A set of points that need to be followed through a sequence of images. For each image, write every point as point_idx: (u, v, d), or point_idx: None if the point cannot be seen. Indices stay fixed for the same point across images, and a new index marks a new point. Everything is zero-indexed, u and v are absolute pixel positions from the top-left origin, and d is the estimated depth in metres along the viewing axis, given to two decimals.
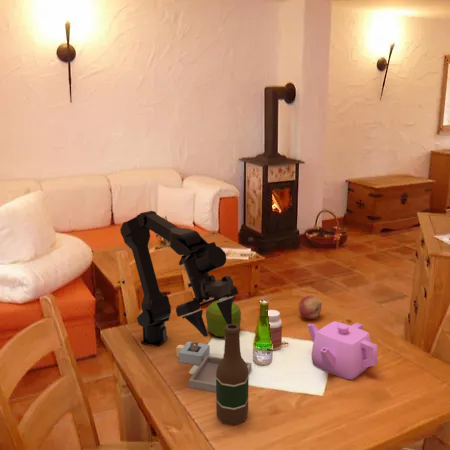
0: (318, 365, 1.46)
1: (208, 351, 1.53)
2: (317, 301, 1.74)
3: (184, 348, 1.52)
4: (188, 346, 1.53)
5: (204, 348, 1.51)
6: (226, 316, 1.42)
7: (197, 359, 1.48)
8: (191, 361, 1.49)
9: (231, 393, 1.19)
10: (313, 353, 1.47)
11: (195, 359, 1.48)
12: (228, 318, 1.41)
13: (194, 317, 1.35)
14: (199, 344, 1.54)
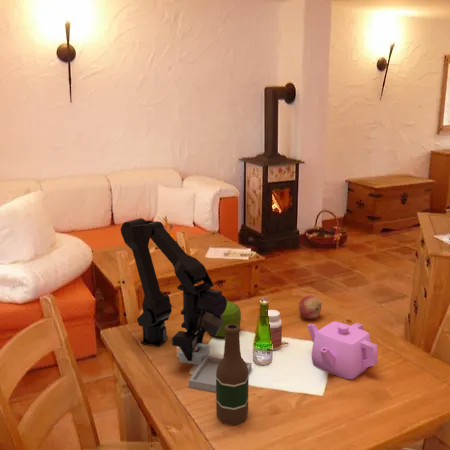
0: (318, 365, 1.46)
1: (208, 351, 1.53)
2: (317, 301, 1.74)
3: None
4: None
5: (204, 348, 1.51)
6: (198, 340, 1.55)
7: (197, 359, 1.48)
8: (191, 361, 1.49)
9: (231, 393, 1.19)
10: (313, 353, 1.47)
11: (195, 359, 1.48)
12: None
13: None
14: (199, 344, 1.54)
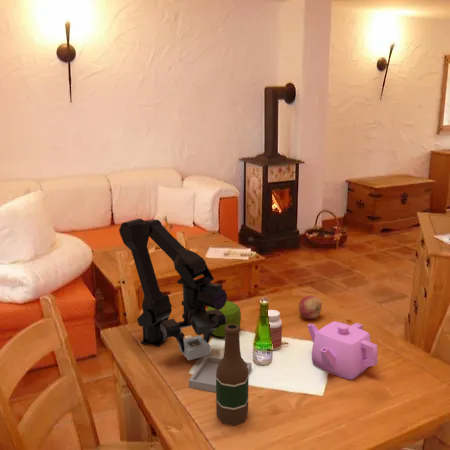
0: (318, 365, 1.46)
1: (207, 351, 1.49)
2: (317, 301, 1.74)
3: (188, 339, 1.53)
4: (193, 339, 1.53)
5: (201, 346, 1.49)
6: (205, 337, 1.52)
7: (186, 353, 1.48)
8: (184, 353, 1.50)
9: (231, 393, 1.19)
10: (313, 353, 1.47)
11: (185, 352, 1.48)
12: (205, 340, 1.52)
13: None
14: (202, 341, 1.52)
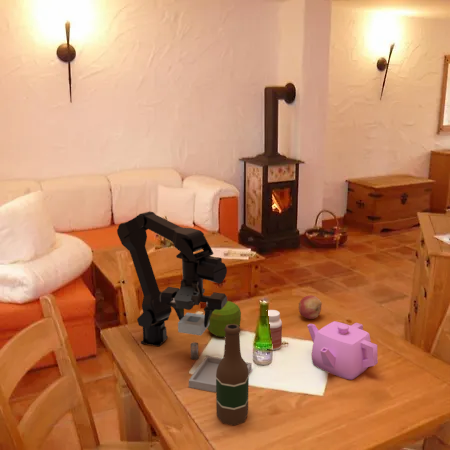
0: (318, 365, 1.46)
1: (197, 330, 1.45)
2: (317, 301, 1.74)
3: (194, 314, 1.52)
4: (198, 316, 1.51)
5: (193, 323, 1.46)
6: None
7: None
8: None
9: (231, 393, 1.19)
10: (313, 353, 1.47)
11: None
12: None
13: None
14: (201, 320, 1.48)
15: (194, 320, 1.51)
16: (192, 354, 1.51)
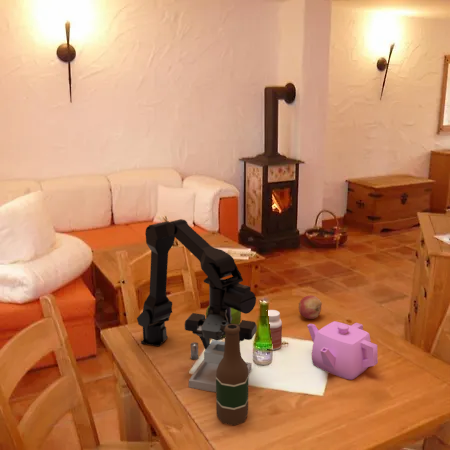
0: (318, 365, 1.46)
1: None
2: (317, 301, 1.74)
3: (221, 342, 1.42)
4: None
5: (220, 353, 1.36)
6: None
7: None
8: None
9: (231, 393, 1.19)
10: (313, 353, 1.47)
11: None
12: None
13: None
14: None
15: (220, 348, 1.41)
16: (192, 354, 1.51)
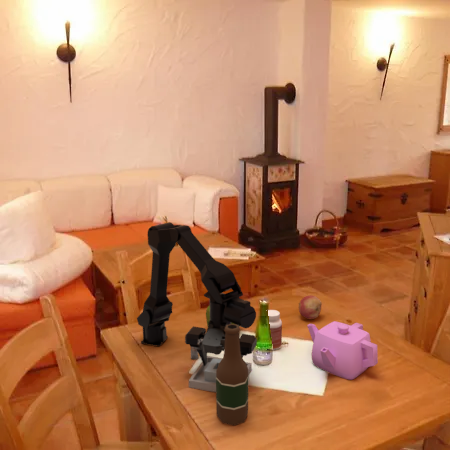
0: (318, 365, 1.46)
1: None
2: (317, 301, 1.74)
3: None
4: None
5: None
6: None
7: None
8: None
9: (231, 393, 1.19)
10: (313, 353, 1.47)
11: None
12: None
13: None
14: None
15: None
16: (192, 354, 1.51)
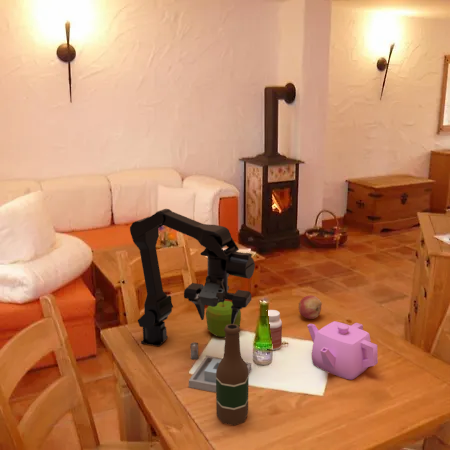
0: (318, 365, 1.46)
1: None
2: (317, 301, 1.74)
3: None
4: None
5: None
6: None
7: None
8: None
9: (231, 393, 1.19)
10: (313, 353, 1.47)
11: None
12: None
13: None
14: None
15: None
16: (192, 354, 1.51)
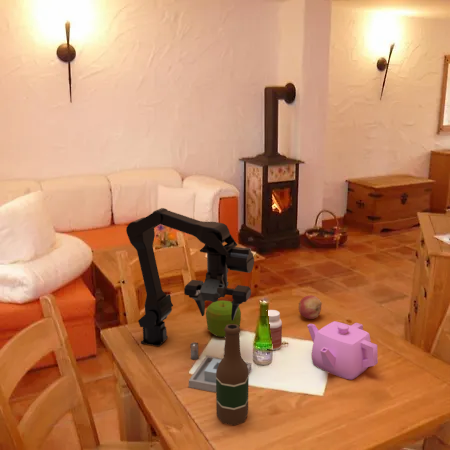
0: (318, 365, 1.46)
1: None
2: (317, 301, 1.74)
3: None
4: None
5: None
6: None
7: None
8: None
9: (231, 393, 1.19)
10: (313, 353, 1.47)
11: None
12: None
13: None
14: None
15: None
16: (192, 354, 1.51)
